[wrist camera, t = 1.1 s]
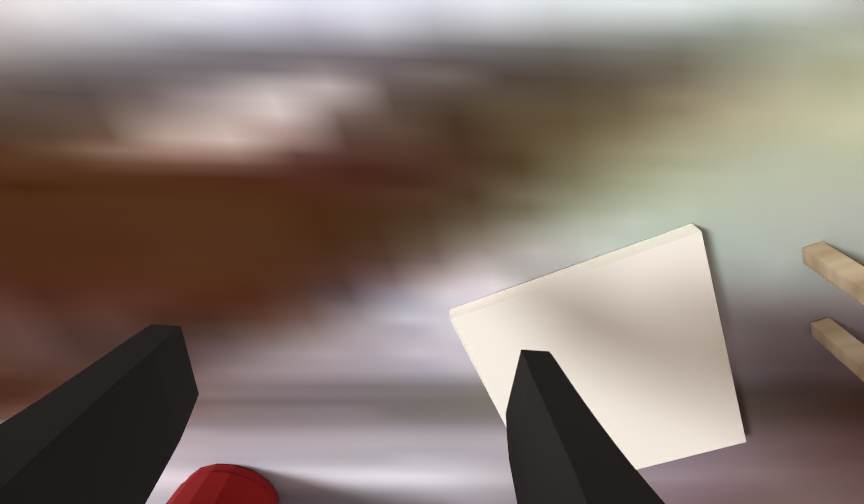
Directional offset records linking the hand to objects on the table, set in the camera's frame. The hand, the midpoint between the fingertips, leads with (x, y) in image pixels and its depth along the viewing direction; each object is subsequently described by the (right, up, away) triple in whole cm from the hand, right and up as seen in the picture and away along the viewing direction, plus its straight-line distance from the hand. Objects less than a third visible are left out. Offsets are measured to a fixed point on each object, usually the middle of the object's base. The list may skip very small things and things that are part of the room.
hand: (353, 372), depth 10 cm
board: (+10, -3, +13) cm, 17 cm away
